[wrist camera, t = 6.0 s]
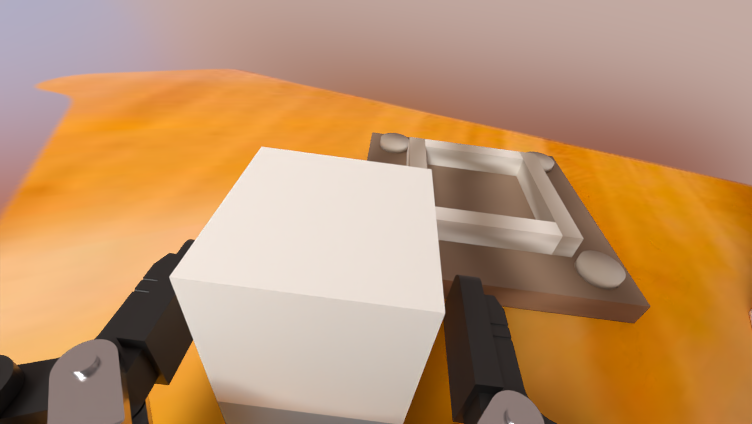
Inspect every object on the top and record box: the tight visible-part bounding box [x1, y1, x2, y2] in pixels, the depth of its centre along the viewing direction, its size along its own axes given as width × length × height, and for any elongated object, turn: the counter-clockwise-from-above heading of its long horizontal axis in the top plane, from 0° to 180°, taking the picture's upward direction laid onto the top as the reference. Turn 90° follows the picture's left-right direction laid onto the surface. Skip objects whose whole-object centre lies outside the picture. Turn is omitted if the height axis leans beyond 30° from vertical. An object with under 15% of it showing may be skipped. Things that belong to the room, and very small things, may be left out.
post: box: [169, 147, 445, 424], centre depth 11 cm, size 5×5×10 cm
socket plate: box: [367, 133, 650, 323], centre depth 25 cm, size 16×16×3 cm
